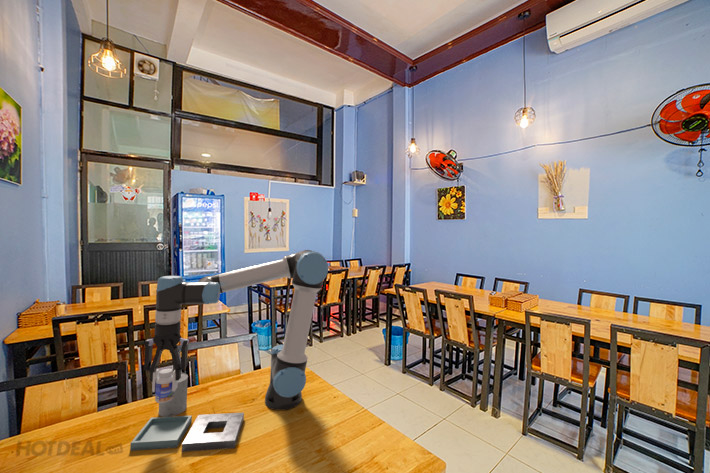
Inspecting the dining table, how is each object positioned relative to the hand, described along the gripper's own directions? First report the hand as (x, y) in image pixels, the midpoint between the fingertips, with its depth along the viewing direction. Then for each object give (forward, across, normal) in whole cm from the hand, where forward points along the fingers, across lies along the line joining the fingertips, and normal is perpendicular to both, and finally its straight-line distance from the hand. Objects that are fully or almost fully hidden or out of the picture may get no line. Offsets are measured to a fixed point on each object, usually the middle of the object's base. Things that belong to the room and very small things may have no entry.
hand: (165, 389), depth 105 cm
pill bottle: (+3, 0, 0) cm, 3 cm away
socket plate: (+16, +17, -1) cm, 23 cm away
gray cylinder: (+16, -3, +16) cm, 23 cm away
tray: (+16, 0, 0) cm, 16 cm away
